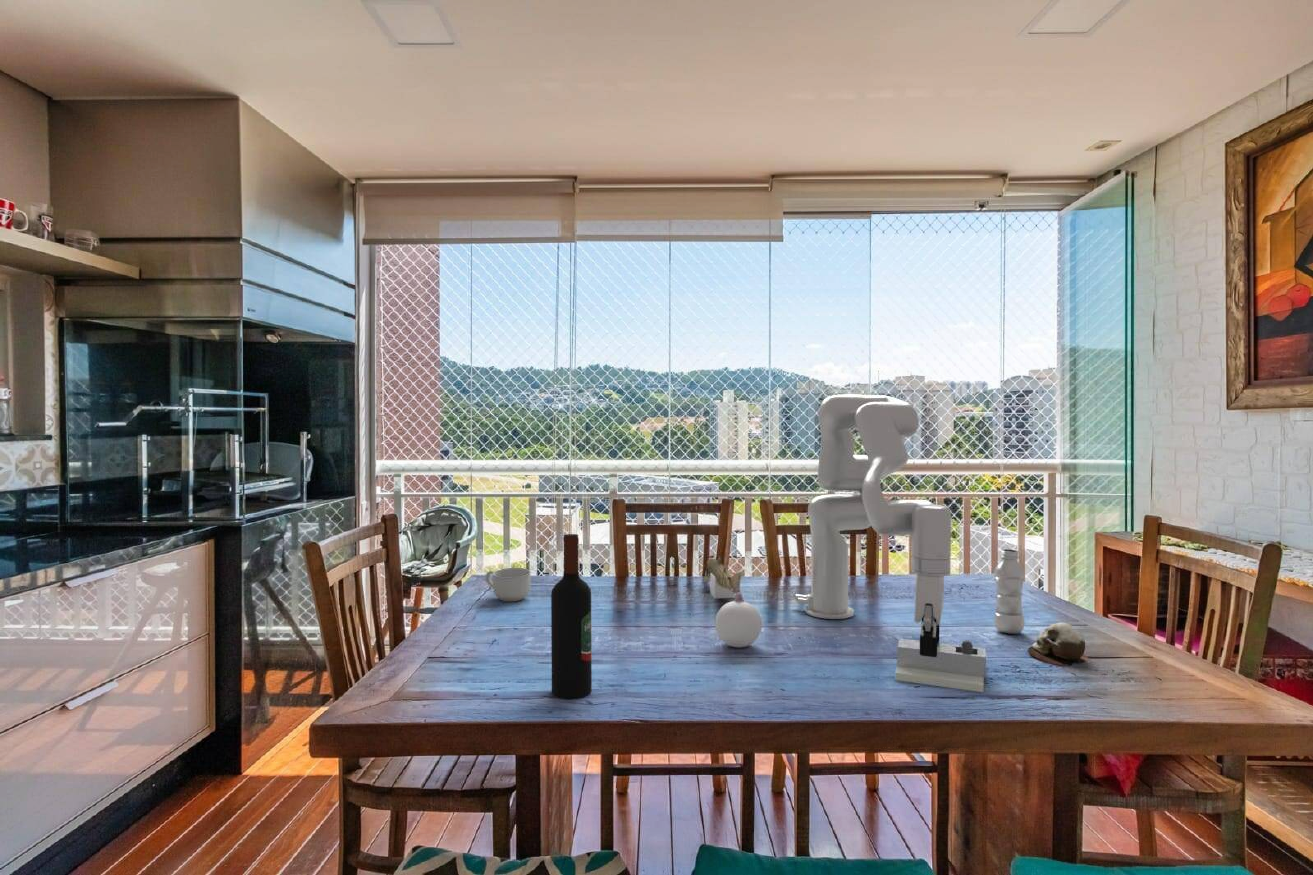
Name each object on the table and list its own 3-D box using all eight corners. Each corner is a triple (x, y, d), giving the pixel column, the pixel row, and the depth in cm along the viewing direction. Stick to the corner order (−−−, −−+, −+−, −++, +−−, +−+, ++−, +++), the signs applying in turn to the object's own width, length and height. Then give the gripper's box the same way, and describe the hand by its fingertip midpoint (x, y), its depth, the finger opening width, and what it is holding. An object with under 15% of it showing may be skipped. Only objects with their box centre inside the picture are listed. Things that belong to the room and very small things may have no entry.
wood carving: (723, 614, 192) (723, 572, 192) (697, 584, 227) (697, 548, 226) (756, 613, 193) (756, 571, 193) (725, 583, 228) (725, 547, 228)
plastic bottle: (1027, 637, 172) (1029, 553, 171) (997, 635, 173) (998, 552, 172) (1020, 629, 178) (1021, 548, 177) (990, 628, 179) (991, 547, 179)
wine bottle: (552, 684, 142) (552, 532, 141) (591, 683, 142) (591, 531, 142) (550, 699, 134) (549, 538, 133) (591, 698, 135) (590, 538, 134)
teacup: (538, 597, 210) (538, 570, 210) (512, 605, 201) (512, 577, 201) (503, 591, 217) (503, 564, 217) (476, 599, 208) (476, 571, 208)
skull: (1012, 648, 160) (1033, 610, 163) (1036, 675, 164) (1056, 637, 167) (1062, 663, 149) (1084, 622, 152) (1087, 691, 153) (1108, 651, 156)
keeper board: (895, 680, 144) (895, 642, 144) (901, 658, 157) (902, 624, 157) (983, 692, 138) (983, 653, 138) (982, 668, 151) (983, 633, 150)
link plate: (896, 666, 148) (897, 646, 148) (899, 657, 153) (899, 638, 153) (985, 677, 141) (985, 657, 141) (985, 668, 147) (985, 648, 147)
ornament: (735, 636, 173) (735, 586, 172) (770, 646, 166) (770, 594, 165) (706, 646, 166) (706, 593, 165) (741, 656, 158) (742, 602, 158)
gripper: (914, 556, 157) (913, 634, 157) (907, 572, 141) (906, 659, 142) (951, 559, 154) (950, 639, 154) (949, 575, 138) (948, 664, 139)
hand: (929, 648), depth 148 cm, fingers open, 9 cm apart
